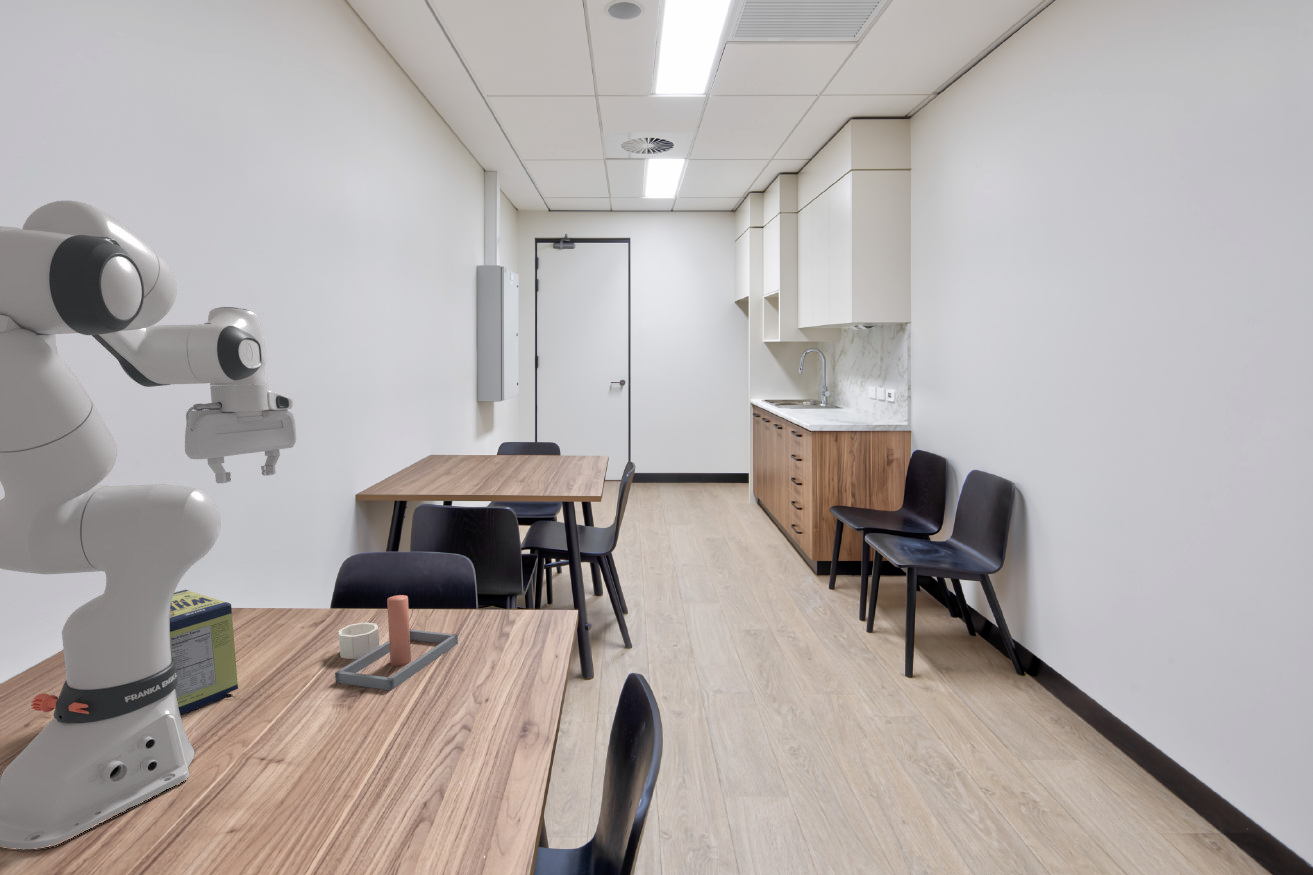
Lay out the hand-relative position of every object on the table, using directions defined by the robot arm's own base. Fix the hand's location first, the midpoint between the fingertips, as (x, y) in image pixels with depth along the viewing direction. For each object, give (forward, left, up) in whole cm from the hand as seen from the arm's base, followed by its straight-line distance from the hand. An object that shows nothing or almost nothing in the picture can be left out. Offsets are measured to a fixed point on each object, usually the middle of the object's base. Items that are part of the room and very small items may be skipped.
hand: (247, 478), depth 124 cm
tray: (+6, -26, -34) cm, 43 cm away
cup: (+8, -15, -34) cm, 38 cm away
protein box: (-13, +3, -35) cm, 37 cm away
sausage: (+6, -26, -34) cm, 43 cm away
